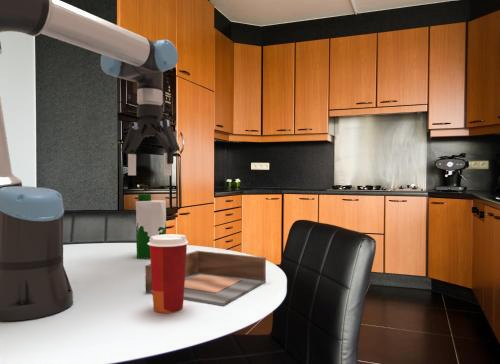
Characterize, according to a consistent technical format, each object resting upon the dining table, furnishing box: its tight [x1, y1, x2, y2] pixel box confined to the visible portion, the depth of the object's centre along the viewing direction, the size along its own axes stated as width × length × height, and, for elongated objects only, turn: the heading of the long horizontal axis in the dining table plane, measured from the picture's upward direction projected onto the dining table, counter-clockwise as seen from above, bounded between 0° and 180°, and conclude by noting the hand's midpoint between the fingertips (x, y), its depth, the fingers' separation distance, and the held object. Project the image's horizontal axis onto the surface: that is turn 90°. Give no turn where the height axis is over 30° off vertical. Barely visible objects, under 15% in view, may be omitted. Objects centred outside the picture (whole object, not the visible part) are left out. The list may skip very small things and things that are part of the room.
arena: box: [145, 250, 267, 307], centre depth 92 cm, size 20×20×6 cm
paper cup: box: [147, 233, 189, 314], centre depth 77 cm, size 8×8×14 cm
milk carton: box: [135, 193, 167, 259], centre depth 127 cm, size 9×9×20 cm
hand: (149, 175), depth 120 cm, fingers open, 13 cm apart
